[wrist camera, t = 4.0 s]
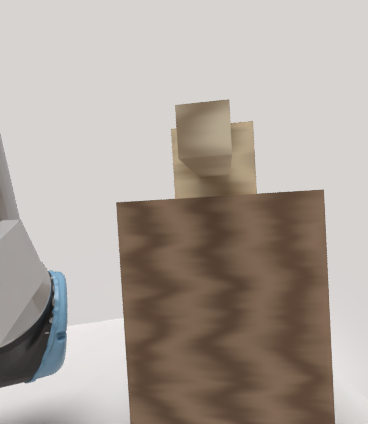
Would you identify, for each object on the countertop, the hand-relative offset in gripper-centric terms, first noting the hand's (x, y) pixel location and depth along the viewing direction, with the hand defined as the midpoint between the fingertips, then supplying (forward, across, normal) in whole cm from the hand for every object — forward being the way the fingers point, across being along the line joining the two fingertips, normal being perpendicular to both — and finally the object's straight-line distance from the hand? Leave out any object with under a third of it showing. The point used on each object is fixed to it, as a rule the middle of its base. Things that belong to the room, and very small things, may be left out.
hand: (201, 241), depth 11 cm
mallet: (+15, 0, -7) cm, 17 cm away
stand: (+5, 0, -35) cm, 36 cm away
